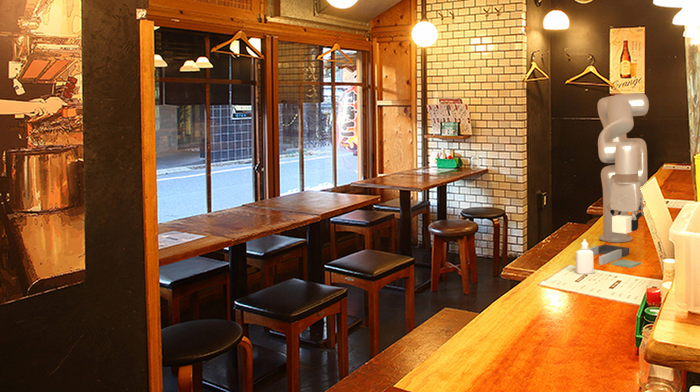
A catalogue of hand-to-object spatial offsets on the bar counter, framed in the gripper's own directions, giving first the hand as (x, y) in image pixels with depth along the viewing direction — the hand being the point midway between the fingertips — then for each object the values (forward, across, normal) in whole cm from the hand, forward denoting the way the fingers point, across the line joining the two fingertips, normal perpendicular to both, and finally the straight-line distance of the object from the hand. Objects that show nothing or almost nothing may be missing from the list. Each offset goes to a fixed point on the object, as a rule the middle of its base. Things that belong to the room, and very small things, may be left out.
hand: (626, 229), depth 211 cm
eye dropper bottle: (+13, -5, -19) cm, 24 cm away
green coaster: (+13, 0, 0) cm, 13 cm away
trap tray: (+13, -11, +12) cm, 21 cm away
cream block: (+1, 0, -2) cm, 2 cm away
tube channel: (+13, -11, +1) cm, 17 cm away
